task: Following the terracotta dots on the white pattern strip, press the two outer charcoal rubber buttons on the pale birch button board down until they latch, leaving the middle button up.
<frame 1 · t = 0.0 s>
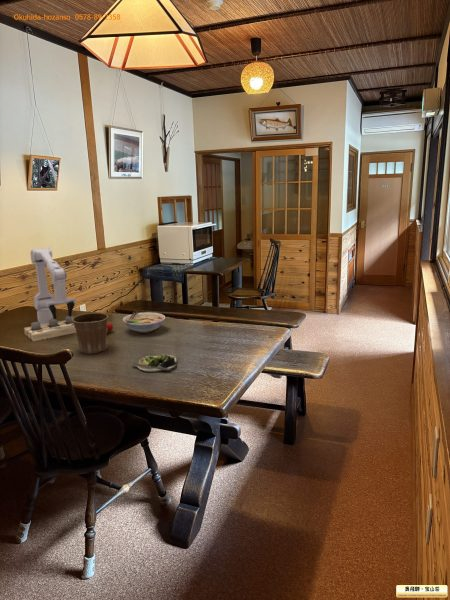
hand: (62, 317, 225), 10 cm above the table, tool pointing down, fingers open, 7 cm apart
ramen bowl: (144, 331, 236), on the table
kendama: (97, 336, 228), on the table
button 2: (53, 323, 233), point 4 cm above the table, slide at 0.0 cm
plant pot: (92, 350, 207), on the table
salad plate: (158, 366, 189), on the table
button 1: (36, 327, 228), point 4 cm above the table, slide at 0.0 cm
button board: (55, 332, 233), on the table
button 3: (69, 320, 239), point 4 cm above the table, slide at 0.0 cm
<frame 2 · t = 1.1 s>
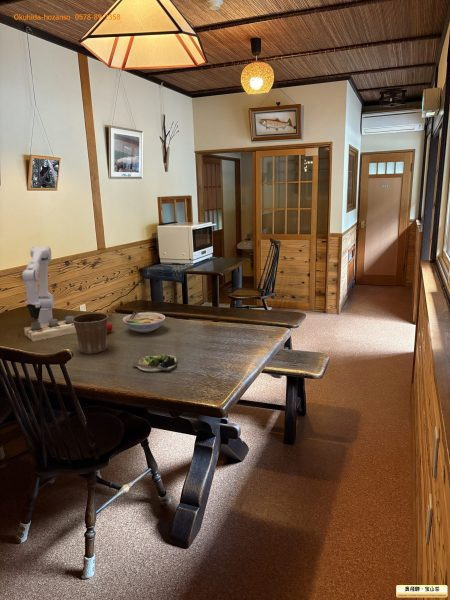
hand: (35, 318, 226), 9 cm above the table, tool pointing down, fingers open, 4 cm apart
nothing on the table moved.
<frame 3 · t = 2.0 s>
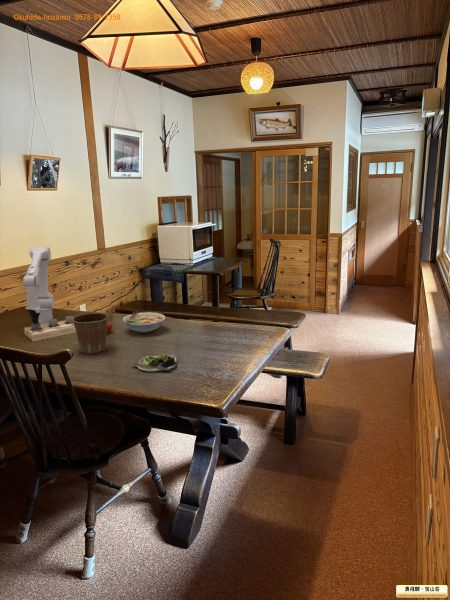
hand: (35, 323, 227), 7 cm above the table, tool pointing down, fingers closed, pressing on button 1
button 1: (36, 327, 228), point 4 cm above the table, slide at 0.1 cm, touching gripper
everything else where it was.
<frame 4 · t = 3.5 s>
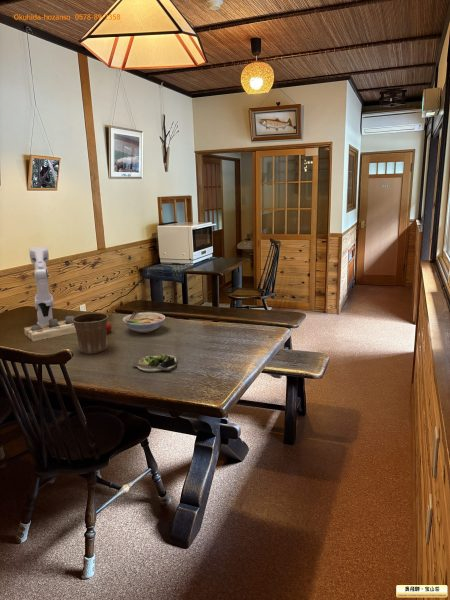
hand: (45, 316, 230), 9 cm above the table, tool pointing down, fingers closed
button 1: (36, 330, 228), point 3 cm above the table, slide at 1.6 cm
everything else where it was.
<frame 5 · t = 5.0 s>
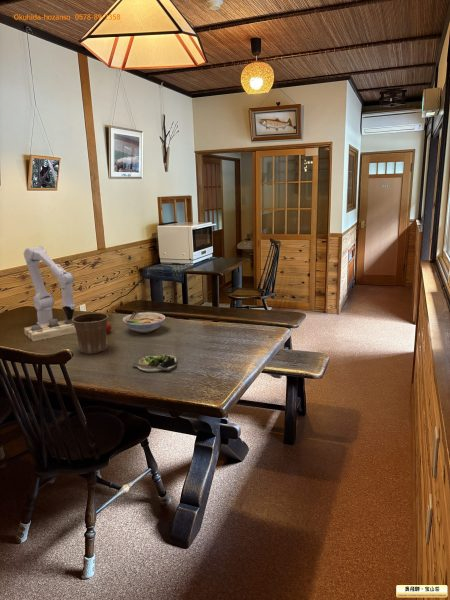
hand: (69, 319, 239), 5 cm above the table, tool pointing down, fingers closed, pressing on button 3
button 3: (70, 323, 239), point 3 cm above the table, slide at 1.4 cm, touching gripper
everything else where it was.
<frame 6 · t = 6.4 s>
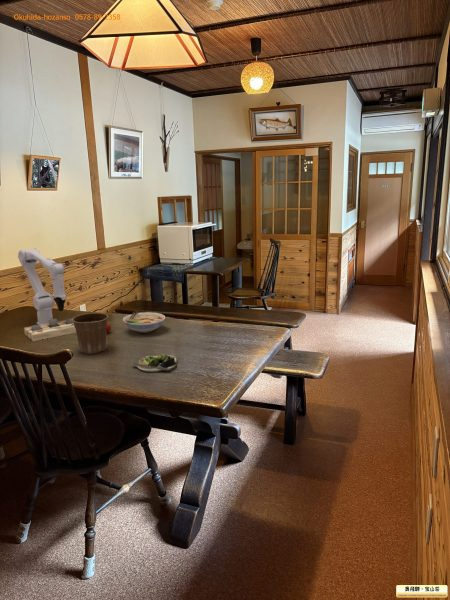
hand: (61, 310, 237), 10 cm above the table, tool pointing down, fingers closed
button 3: (70, 323, 239), point 3 cm above the table, slide at 1.6 cm
everything else where it was.
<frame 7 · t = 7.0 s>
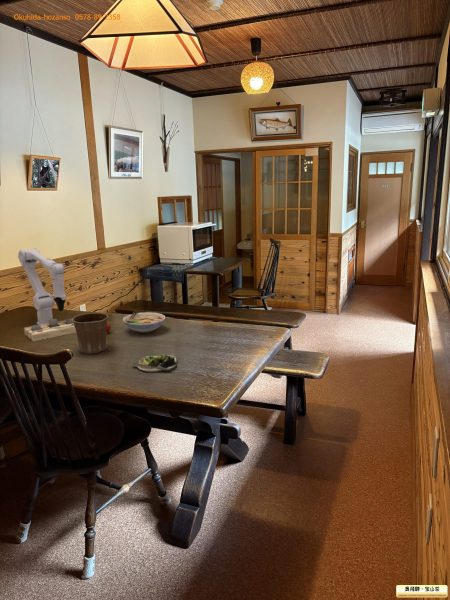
hand: (61, 310, 237), 10 cm above the table, tool pointing down, fingers closed
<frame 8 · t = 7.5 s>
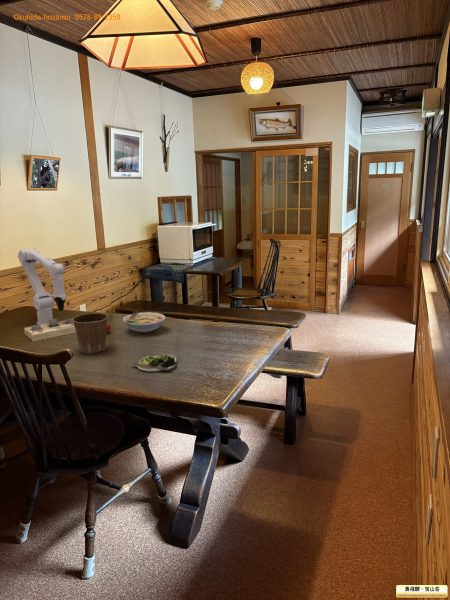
hand: (61, 310, 237), 10 cm above the table, tool pointing down, fingers closed
at the end: button 1 slide at 1.6 cm; button 3 slide at 1.6 cm; button 2 slide at 0.0 cm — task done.
